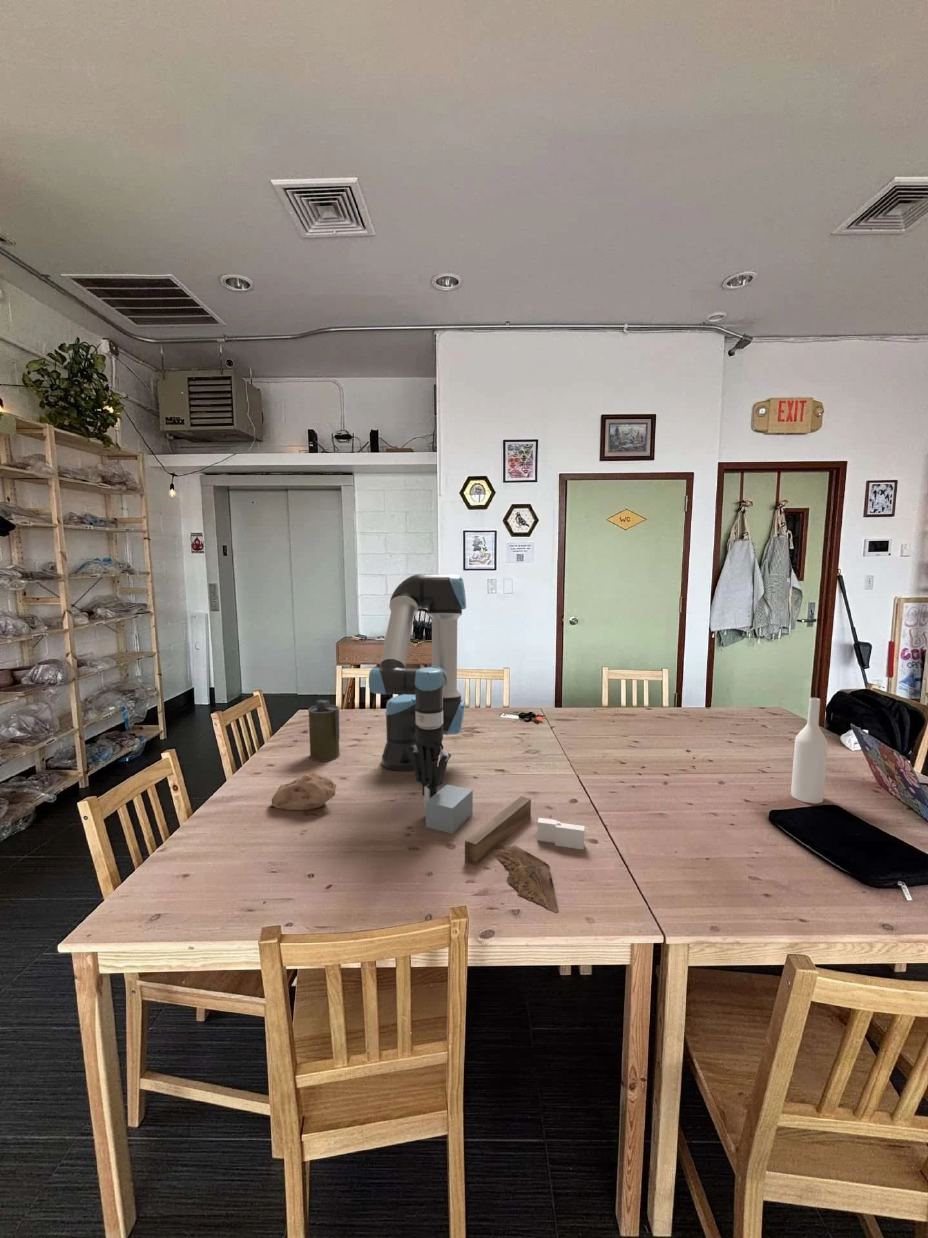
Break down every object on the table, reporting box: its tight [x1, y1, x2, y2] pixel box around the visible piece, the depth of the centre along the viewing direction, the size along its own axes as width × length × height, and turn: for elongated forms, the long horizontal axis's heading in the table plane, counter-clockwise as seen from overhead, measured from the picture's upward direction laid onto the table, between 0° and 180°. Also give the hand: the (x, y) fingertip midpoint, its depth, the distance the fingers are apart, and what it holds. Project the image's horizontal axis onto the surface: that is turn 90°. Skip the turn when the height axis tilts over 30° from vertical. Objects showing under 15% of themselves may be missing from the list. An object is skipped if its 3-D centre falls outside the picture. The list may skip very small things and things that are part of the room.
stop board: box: [464, 795, 532, 865], centre depth 137 cm, size 3×28×5 cm, turn 146°
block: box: [425, 784, 474, 834], centre depth 146 cm, size 8×12×7 cm, turn 154°
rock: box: [271, 771, 337, 811], centre depth 153 cm, size 18×10×10 cm, turn 95°
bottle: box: [790, 697, 829, 805], centre depth 158 cm, size 8×8×30 cm
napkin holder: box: [536, 817, 586, 851], centre depth 135 cm, size 15×11×6 cm
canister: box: [307, 699, 341, 762], centre depth 191 cm, size 11×10×20 cm
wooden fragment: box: [495, 844, 560, 914], centre depth 121 cm, size 26×11×1 cm, turn 12°
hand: (429, 808), depth 149 cm, fingers closed
